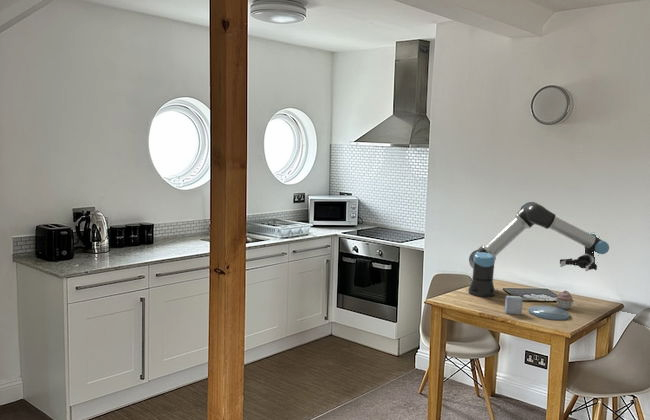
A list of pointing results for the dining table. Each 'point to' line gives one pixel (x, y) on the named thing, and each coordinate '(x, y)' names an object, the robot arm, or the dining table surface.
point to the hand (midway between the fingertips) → (573, 266)
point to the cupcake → (564, 300)
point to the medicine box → (513, 305)
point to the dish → (549, 312)
